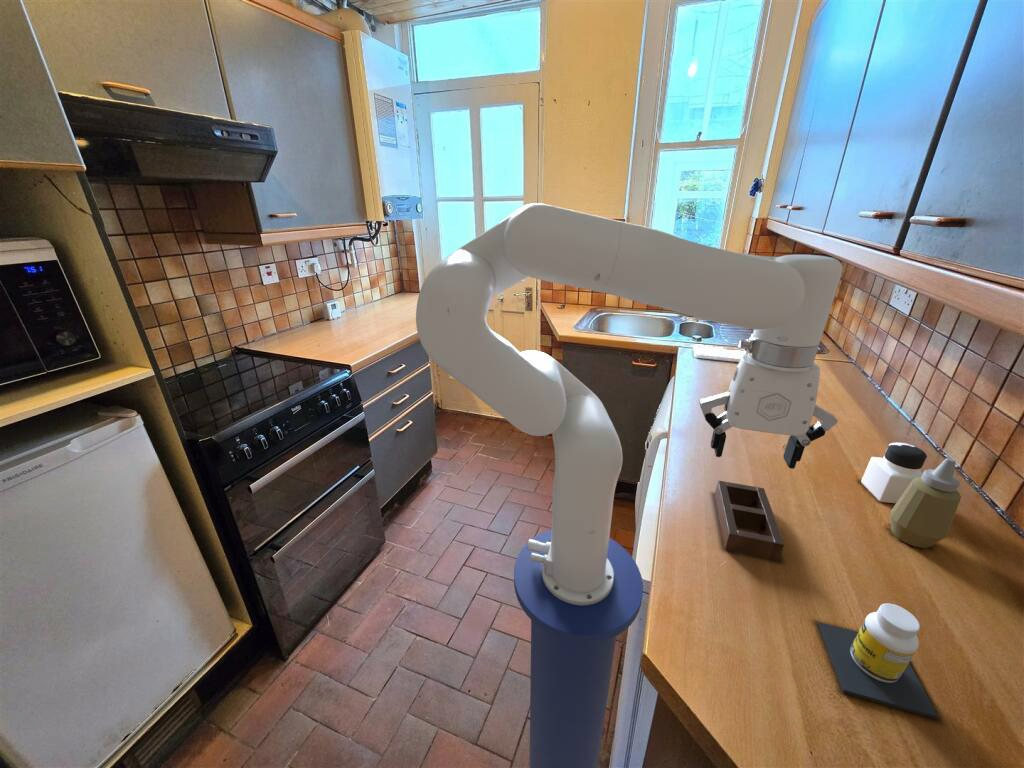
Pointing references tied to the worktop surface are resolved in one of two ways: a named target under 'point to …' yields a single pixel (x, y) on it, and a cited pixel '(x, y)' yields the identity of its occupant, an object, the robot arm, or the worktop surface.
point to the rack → (748, 521)
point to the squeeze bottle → (927, 507)
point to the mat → (860, 684)
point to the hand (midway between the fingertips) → (751, 457)
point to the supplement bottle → (886, 642)
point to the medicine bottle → (893, 471)
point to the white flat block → (718, 353)
